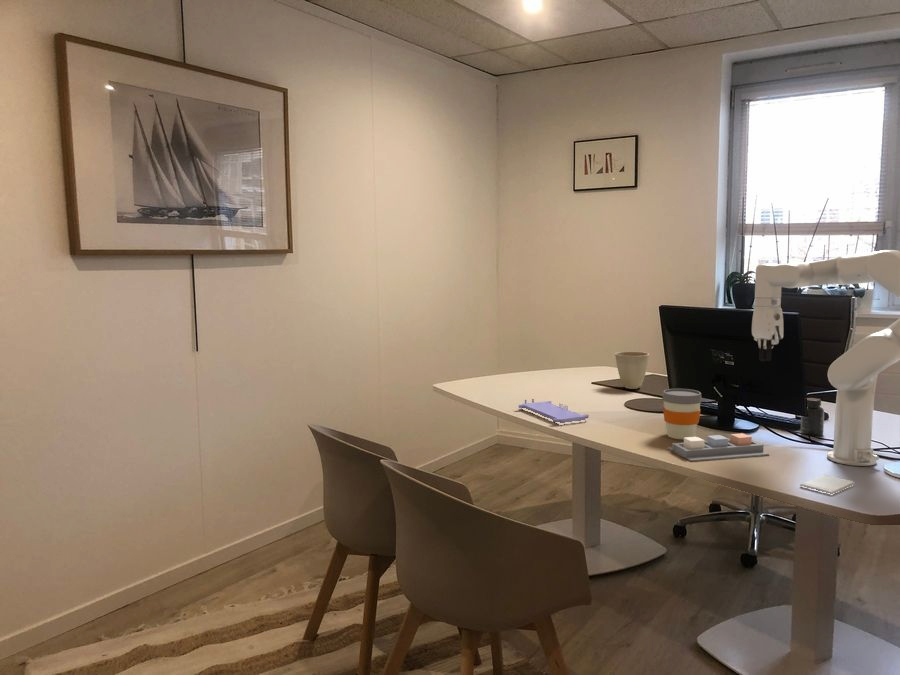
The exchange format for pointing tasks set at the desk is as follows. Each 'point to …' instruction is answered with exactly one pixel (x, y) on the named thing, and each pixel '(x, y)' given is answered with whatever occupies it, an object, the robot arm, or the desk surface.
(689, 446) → the ivory key
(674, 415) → the reusable coffee cup
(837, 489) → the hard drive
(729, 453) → the tray
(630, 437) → the desk surface
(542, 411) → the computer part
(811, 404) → the supplement bottle
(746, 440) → the terracotta key
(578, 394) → the desk surface
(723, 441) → the slate key
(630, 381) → the plant pot
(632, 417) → the desk surface
